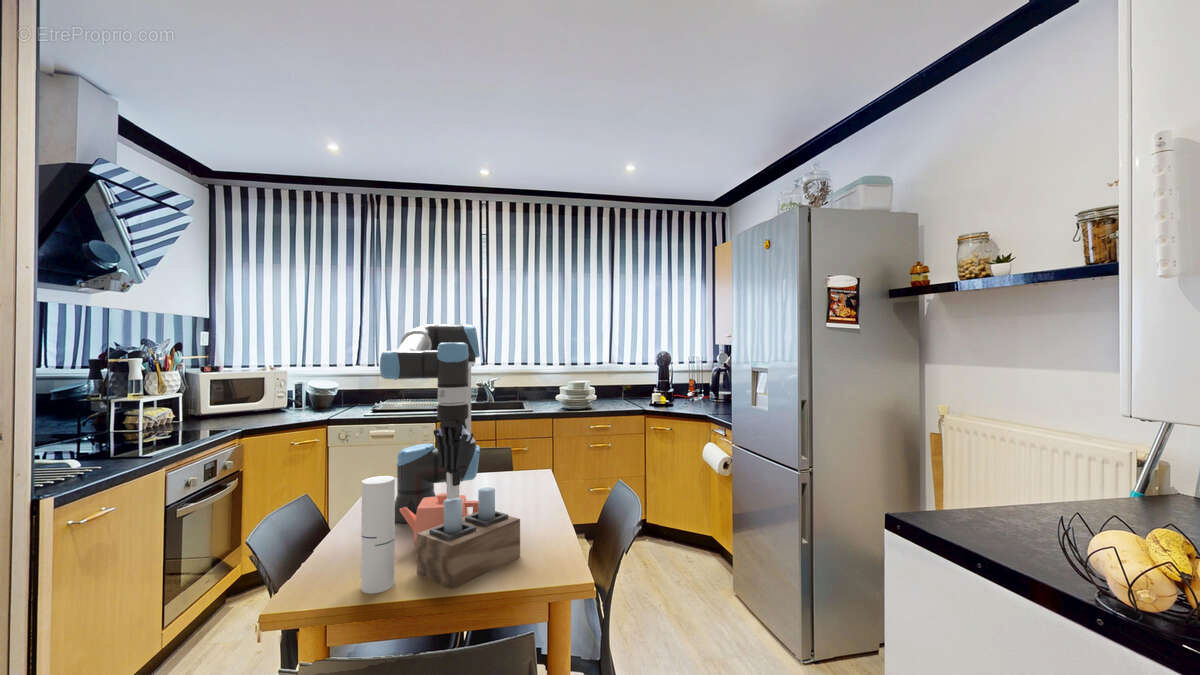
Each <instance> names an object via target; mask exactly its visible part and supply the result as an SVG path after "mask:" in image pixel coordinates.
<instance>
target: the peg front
mask: <svg viewBox="0 0 1200 675" xmlns="http://www.w3.org/2000/svg"><path fill="white" fill-rule="evenodd" d="M459 531H462V499H461V498H454V499H451V500H450V499H446V500H444V533H447V534H450V535H451V534H454V533H457V532H459Z"/></svg>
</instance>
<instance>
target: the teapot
mask: <svg viewBox="0 0 1200 675" xmlns="http://www.w3.org/2000/svg"><path fill="white" fill-rule="evenodd" d="M435 495H436V497H425V498H423V499H422V501H421V502H420V504H419V506H418V508H417V513H416V515H415V514H414V513H412V512H411V511H410V510H409V509H408V508H407V507H404V508H400V512H401V514H402V515H403V517H404V518H405V520H406V521H407V523H406V524H407V525H409V527H410V528H411V530H412V531H413V540H414V546H415V547H416V548H417V533H419V532H422V531H425V530H428V529H430V528H433V527H436V526H439V525H442V524H444V500H446V499H447V492H444V493H443V492H442V493H438V494H435ZM458 498H461V499H462V517H465V516H467V515H469V510H468V508H472V514H473V513H476V512H478V500H467V497H466V495H464V494H462V495H461V494H459V497H458Z"/></svg>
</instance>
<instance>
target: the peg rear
mask: <svg viewBox="0 0 1200 675" xmlns="http://www.w3.org/2000/svg"><path fill="white" fill-rule="evenodd" d="M477 492H478V493H477V494H478V495H477V496H478V499H477V501H478V519H479V520H483V521H488V520H491V519H494V518H495V511H496V489H495V487H481V488H479V489H478V490H477Z"/></svg>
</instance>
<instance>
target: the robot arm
mask: <svg viewBox="0 0 1200 675" xmlns="http://www.w3.org/2000/svg"><path fill="white" fill-rule="evenodd" d="M477 333H478V332H477V328H476V326H475V325H473V324H465V323H461V324H460V323H457V324H456V323H455V324H454V323H453V324H451V323H449V324H447V323H445V324H442V323H441V324H440V323H438V324H437V323H436V324H435V323H429V324H424V325H420V326H417V327H415V328H412V329H410V330H409V331H407V332H406V333H405V334H404V335H403V336H402V338H401V341H400V345H399V347H398V349H397V350H393V349H392V350H385V351H383V352H381V354H380V359H379V360H380V361H379V372H380V375H381V377H382V378H383V379H385V380H393V381H394V380H395V381H397V380H411V379H412V380H414V379H415V380H416V379H417V380H418V379H420V380H421V379H437V403H438V406H437V408H436V409H437V411H436V413H437V414H436V418H437V420H438V421H440V424H439V427H438V428H437V429H434V430H433V435H434V437H435V442H436V447H435V445H434V443H419V444H414V445H410V446H408V447H405V448H403V449H401V450H400V451H399V452H398V454H397V463H396V468H397V470H396V471H397V472H396V475H397V476H396V477H397V479H396V480H397V482H396V483H397V484H396V490H397V493H396V496H395V523H399V524H408V523H407V521H406V520H405V518H404V517H403V515H402V514H401V512H400V508H404V507H407V508H408V509H409V510H410V511H411V512H412V513H414V514H415V515H416V513H417V508H418V506H419V504H420V502H421V501H422V499H423V498H425V497H436V495H437V494H436V493H435V484H440V483H446V494H447V499H450V500H451V499H454V498H458V497H459V495H460V484H461V483H463V482H466V481H473V480H475V479H476V477H477V474H478V469H479V460H480V452H481V447H480V445H478V444H477V443H476V439H475V438H474V433H473V432H472V367H473V366H474V365H475V364H476V359H478V358H480V357H481V356H480V354H481V353H480V346H479V339H478V334H477ZM476 444H477V445H476Z"/></svg>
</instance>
